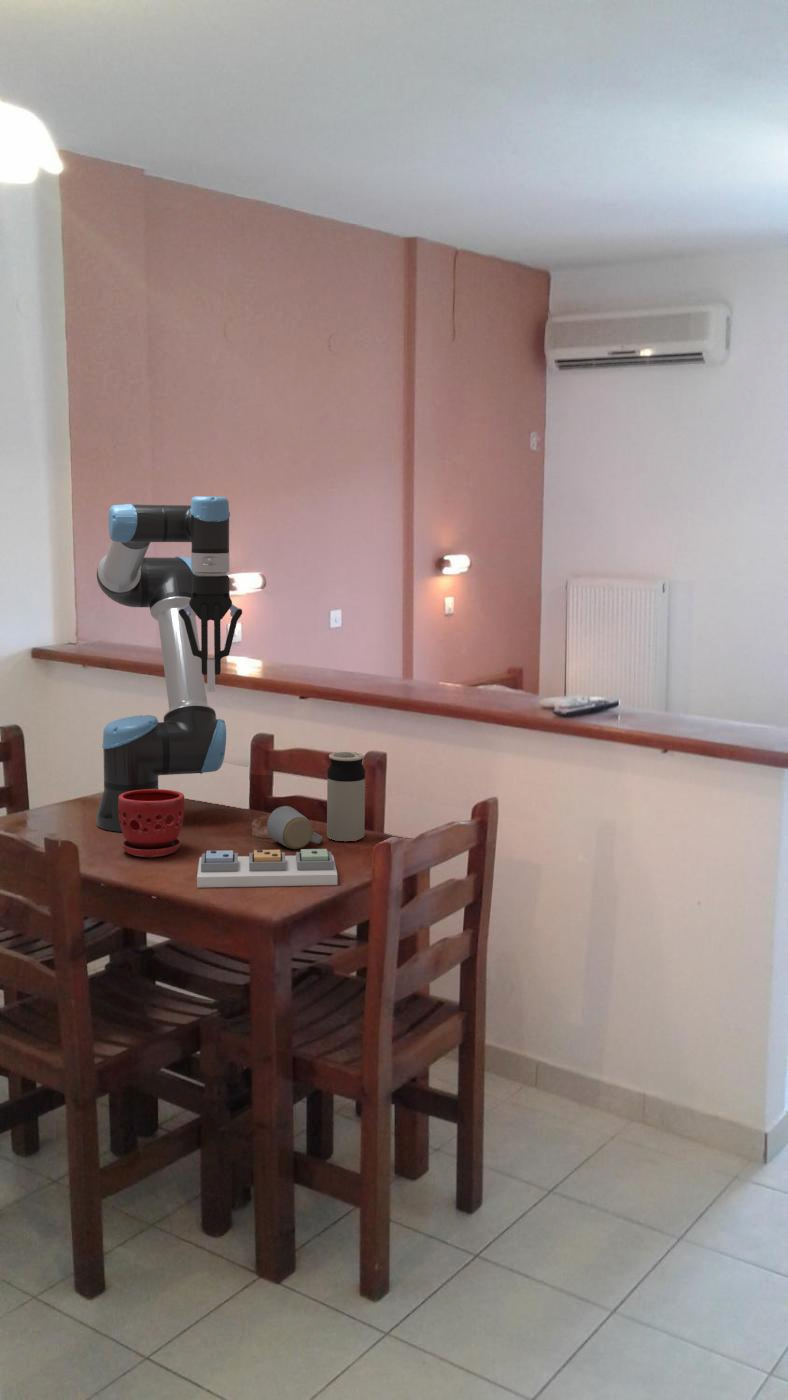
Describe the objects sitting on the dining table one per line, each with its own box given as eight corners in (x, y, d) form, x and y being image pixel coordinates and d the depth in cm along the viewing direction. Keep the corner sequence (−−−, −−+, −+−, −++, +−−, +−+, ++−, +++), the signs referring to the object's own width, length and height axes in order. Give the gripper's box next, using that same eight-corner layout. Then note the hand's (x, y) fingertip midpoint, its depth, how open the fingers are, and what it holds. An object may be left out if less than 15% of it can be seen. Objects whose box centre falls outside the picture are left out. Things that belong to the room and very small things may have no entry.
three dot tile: (253, 860, 244) (253, 849, 243) (280, 859, 244) (280, 848, 244) (254, 867, 239) (254, 856, 239) (280, 867, 239) (280, 856, 239)
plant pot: (193, 856, 254) (192, 798, 252) (128, 863, 248) (127, 804, 246) (174, 839, 266) (173, 784, 264) (112, 846, 260) (110, 789, 258)
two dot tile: (206, 860, 243) (206, 849, 242) (233, 860, 243) (232, 849, 243) (205, 868, 238) (205, 857, 237) (232, 868, 238) (232, 856, 238)
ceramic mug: (283, 853, 257) (284, 816, 256) (265, 843, 264) (266, 807, 263) (329, 847, 263) (330, 811, 262) (311, 837, 270) (311, 802, 269)
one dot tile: (300, 859, 245) (300, 848, 244) (326, 858, 245) (326, 847, 245) (301, 866, 240) (301, 855, 240) (328, 866, 240) (328, 855, 240)
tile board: (199, 866, 247) (199, 849, 246) (332, 864, 250) (333, 847, 249) (197, 887, 234) (196, 868, 234) (337, 884, 237) (337, 866, 237)
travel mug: (329, 843, 265) (329, 759, 262) (324, 833, 273) (325, 751, 270) (366, 842, 266) (368, 758, 263) (361, 832, 274) (362, 750, 271)
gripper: (176, 575, 249) (177, 693, 253) (243, 575, 250) (243, 693, 254) (178, 572, 256) (179, 687, 260) (243, 573, 258) (243, 687, 261)
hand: (211, 690), depth 257 cm, fingers closed
